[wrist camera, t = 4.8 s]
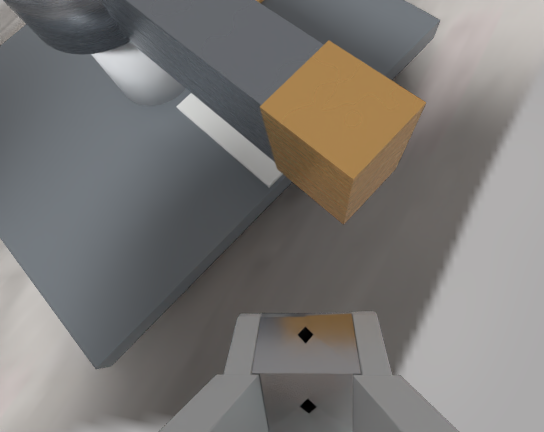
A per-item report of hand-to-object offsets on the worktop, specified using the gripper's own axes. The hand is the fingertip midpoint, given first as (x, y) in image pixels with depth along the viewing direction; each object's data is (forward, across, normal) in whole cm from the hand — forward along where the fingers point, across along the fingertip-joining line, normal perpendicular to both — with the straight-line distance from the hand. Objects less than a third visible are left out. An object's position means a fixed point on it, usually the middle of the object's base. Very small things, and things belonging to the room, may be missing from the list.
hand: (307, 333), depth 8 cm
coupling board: (+16, -8, +4) cm, 18 cm away
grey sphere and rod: (+9, -4, +6) cm, 11 cm away
